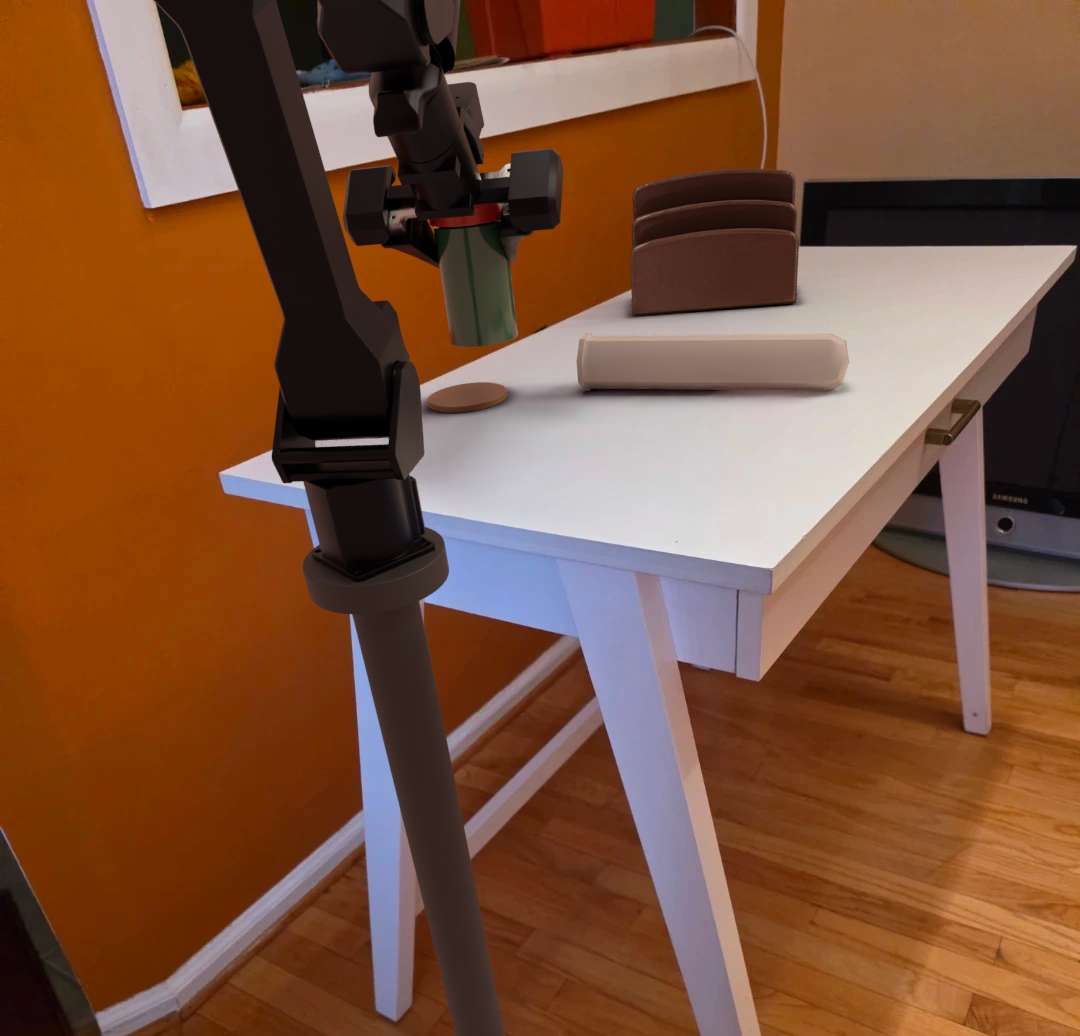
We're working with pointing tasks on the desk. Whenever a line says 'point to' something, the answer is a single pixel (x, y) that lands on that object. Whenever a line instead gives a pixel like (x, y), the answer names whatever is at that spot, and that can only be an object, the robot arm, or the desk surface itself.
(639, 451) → the desk surface
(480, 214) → the lid
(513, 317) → the jar
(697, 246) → the letter holder
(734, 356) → the tube
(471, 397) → the disc
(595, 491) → the desk surface
